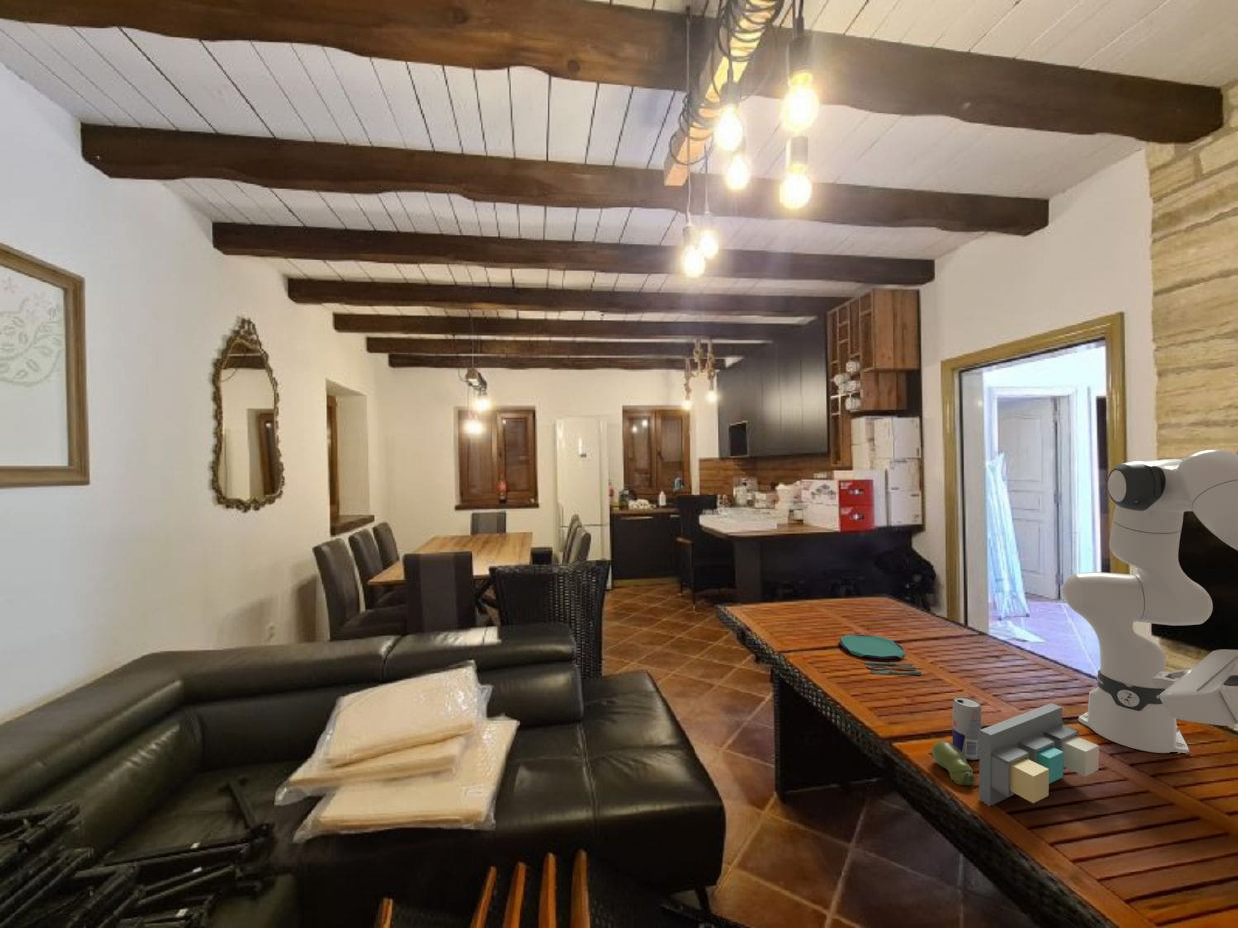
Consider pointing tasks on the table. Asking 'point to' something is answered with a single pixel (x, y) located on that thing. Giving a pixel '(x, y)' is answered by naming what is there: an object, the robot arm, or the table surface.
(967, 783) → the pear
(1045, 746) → the control panel
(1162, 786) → the table surface
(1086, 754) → the button cream
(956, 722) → the energy drink
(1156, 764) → the table surface
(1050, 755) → the button teal
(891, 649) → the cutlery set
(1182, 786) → the table surface
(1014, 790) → the button mustard
